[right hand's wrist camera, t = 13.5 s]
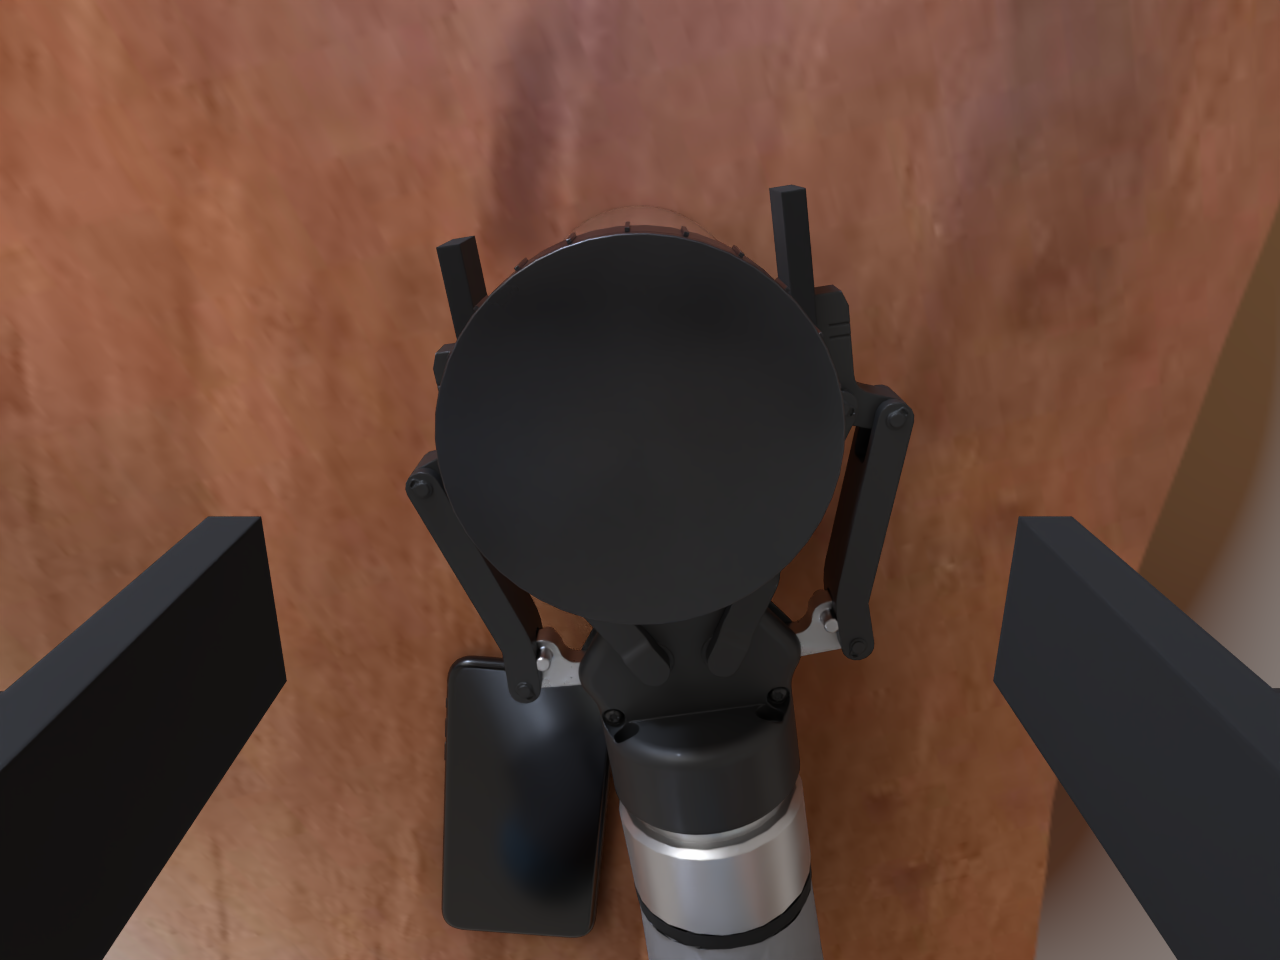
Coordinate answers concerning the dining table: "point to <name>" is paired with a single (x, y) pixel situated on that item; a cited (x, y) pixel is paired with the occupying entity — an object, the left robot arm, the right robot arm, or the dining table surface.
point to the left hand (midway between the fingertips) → (619, 214)
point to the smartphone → (521, 805)
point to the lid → (639, 425)
